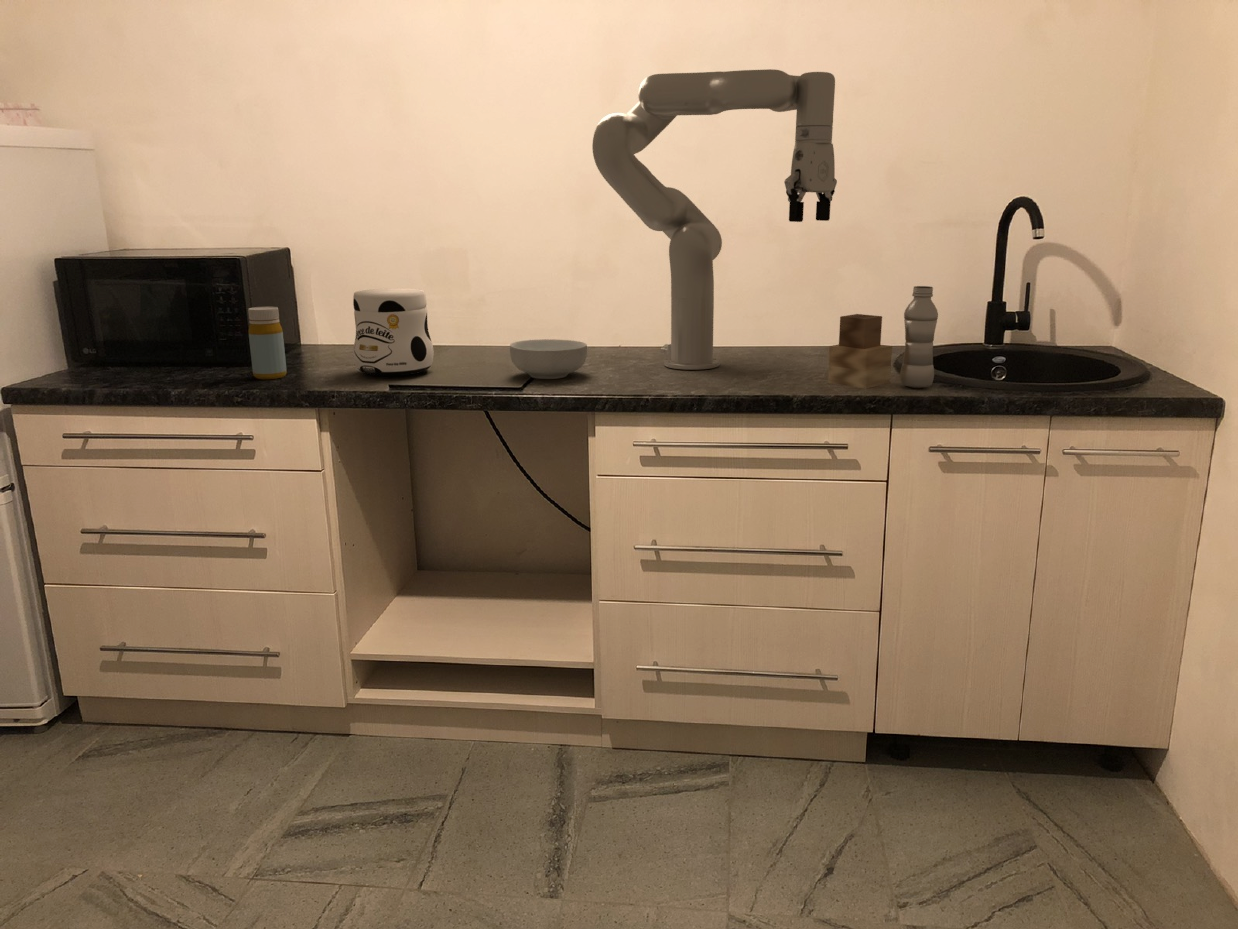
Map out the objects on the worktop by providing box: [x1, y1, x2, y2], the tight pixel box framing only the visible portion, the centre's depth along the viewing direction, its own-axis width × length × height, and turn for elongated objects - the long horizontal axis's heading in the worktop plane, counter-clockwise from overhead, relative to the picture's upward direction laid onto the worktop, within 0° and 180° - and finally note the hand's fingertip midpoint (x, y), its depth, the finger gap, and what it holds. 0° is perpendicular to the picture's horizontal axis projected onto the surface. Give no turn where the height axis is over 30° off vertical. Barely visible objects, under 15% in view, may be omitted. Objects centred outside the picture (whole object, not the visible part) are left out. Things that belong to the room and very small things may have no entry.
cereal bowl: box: [509, 338, 588, 380], centre depth 214 cm, size 17×17×7 cm
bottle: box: [247, 306, 287, 380], centre depth 215 cm, size 7×7×15 cm
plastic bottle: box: [899, 285, 939, 389], centre depth 196 cm, size 6×7×20 cm
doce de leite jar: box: [352, 287, 435, 377], centre depth 218 cm, size 17×17×18 cm
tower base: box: [827, 364, 892, 389], centre depth 204 cm, size 9×9×4 cm
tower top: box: [828, 343, 893, 371], centre depth 203 cm, size 9×9×4 cm
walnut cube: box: [838, 313, 883, 349], centre depth 202 cm, size 6×6×6 cm
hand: (809, 220), depth 210 cm, fingers open, 9 cm apart
